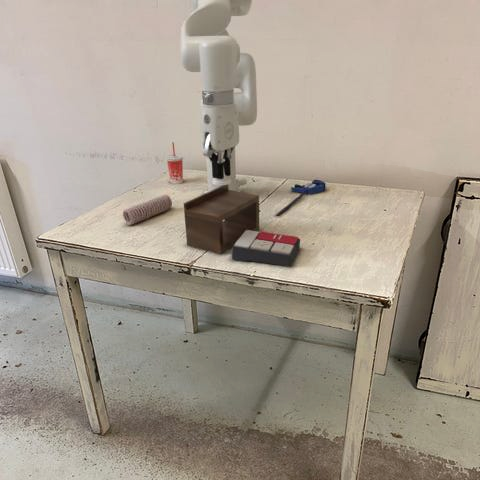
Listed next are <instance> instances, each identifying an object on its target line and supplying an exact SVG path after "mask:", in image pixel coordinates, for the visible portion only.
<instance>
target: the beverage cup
mask: <svg viewBox="0 0 480 480" xmlns="http://www.w3.org/2000/svg"><path fill="white" fill-rule="evenodd" d="M172 152H173V154H172V155H167V156H165V160H166V162H167V169H168V174H169V182H170V183H171V184H174V185H178V184H182V183H183V182H184V167H183V164H184V163H183V160H184V156H183V155H181V154H176V152H175V142H174V141H173V142H172Z"/></svg>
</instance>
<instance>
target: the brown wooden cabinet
mask: <svg viewBox="0 0 480 480" xmlns="http://www.w3.org/2000/svg"><path fill="white" fill-rule="evenodd" d="M183 213H184V224H185V225H184V226H185V235H186V238H185V239H186V245H187V246H188V247H192V248H195V249H199V250H203V251H207V252H210V253H213V254H214V253H215V254H219V255H222V254H223V253H225V252H226V251H228V250H229V249H232V246H233V245H234V243H235V242H236V241H237V240H238V238H239V237H240V236H241V235H242V233H243V232H244V231H246V230H250V231H257V232H259V231H260V194H259V195H258V194H253V193H248V192H242V191H241V192H238V191H232V190H228V184H227V185H222V186H220V187H218V188H216V189H214V190H211V191H209V192H207V193H205V194H204V193H202V194H201V195H198V196H196V197H194V198H192V199H189V200H187V201H185V202H183Z"/></svg>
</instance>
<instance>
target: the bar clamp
mask: <svg viewBox="0 0 480 480" xmlns="http://www.w3.org/2000/svg"><path fill="white" fill-rule="evenodd" d="M326 185H327V184H326V182H324V181H322V180H320V179H313V180H312V181H311V183H310V182H307V183H306V184H303V185H300V184H297V183H295V184H294V187H293V186H291V187H290V190H291V192H297V193H300V194H299V195H298V196H297V197H295V198H294V199H293V200H292V201H291V202H290V203H288V204H287V205H286V206H285V207H284V208H283V209H281V210H280V211H279V212H277V213H276V214H275V216H277V217H279V216H281V215H282V214H283V213H284V212H286V211H287V210H288V209H289V208H291V207H292V205H294V204H296V202H297V201H299V200H300V199H301V198H302V197H303V196H305V195H314V194H318V193H322V192H325V191H326Z"/></svg>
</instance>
